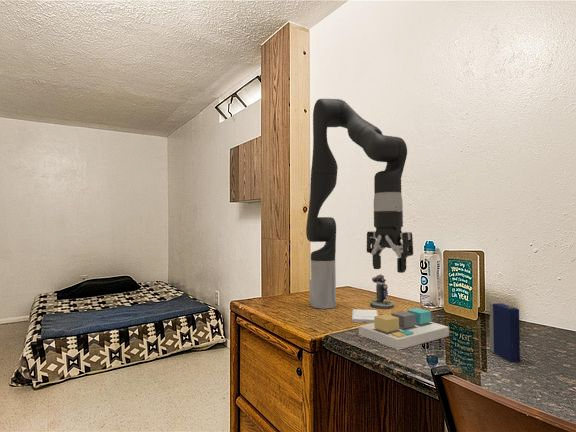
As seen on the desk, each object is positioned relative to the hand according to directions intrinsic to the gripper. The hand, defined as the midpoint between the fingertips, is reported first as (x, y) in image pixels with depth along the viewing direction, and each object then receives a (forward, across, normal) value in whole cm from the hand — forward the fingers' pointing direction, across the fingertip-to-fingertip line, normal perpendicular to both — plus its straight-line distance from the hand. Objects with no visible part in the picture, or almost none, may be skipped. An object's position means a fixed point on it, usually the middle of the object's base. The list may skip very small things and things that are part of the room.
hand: (388, 270), depth 97 cm
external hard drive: (+19, -20, +10) cm, 30 cm away
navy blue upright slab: (+19, +23, +13) cm, 32 cm away
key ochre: (+15, 0, -1) cm, 15 cm away
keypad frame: (+18, 0, +6) cm, 19 cm away
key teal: (+15, 0, +12) cm, 19 cm away
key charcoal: (+15, 0, +6) cm, 16 cm away
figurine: (+18, -28, +26) cm, 43 cm away
